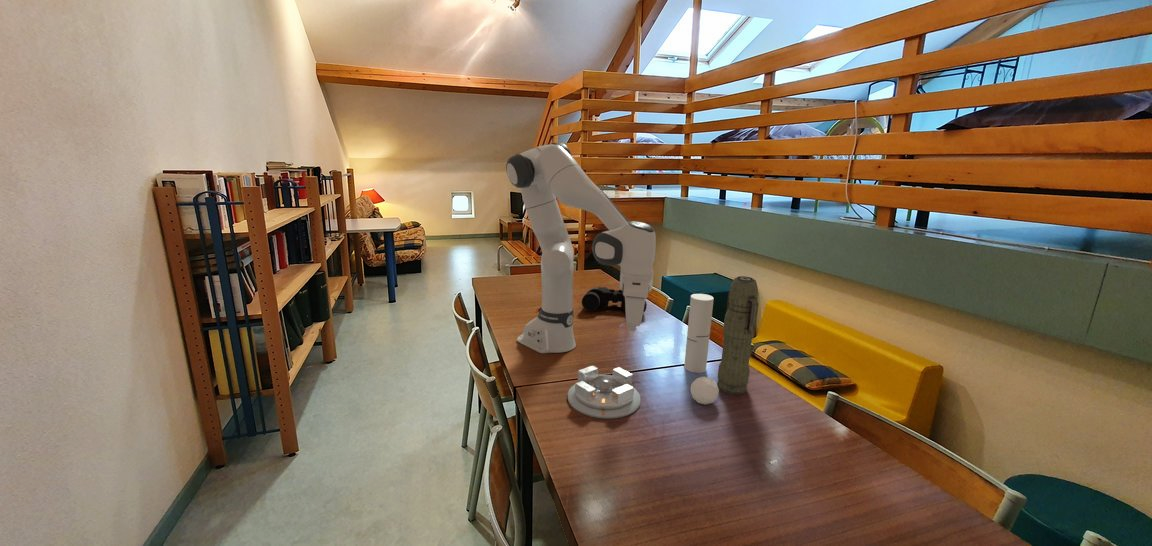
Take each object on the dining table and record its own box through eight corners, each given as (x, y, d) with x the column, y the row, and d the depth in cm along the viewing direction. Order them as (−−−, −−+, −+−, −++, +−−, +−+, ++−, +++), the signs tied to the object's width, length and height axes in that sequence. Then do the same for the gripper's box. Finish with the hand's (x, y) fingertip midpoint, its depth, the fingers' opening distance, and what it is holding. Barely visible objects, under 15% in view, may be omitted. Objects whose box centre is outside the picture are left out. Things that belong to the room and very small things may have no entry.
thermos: (729, 376, 148) (741, 272, 140) (756, 393, 138) (772, 282, 129) (707, 381, 145) (719, 274, 136) (734, 399, 134) (748, 285, 126)
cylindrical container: (706, 373, 150) (714, 301, 144) (684, 371, 151) (691, 299, 145) (705, 364, 157) (712, 294, 150) (683, 362, 158) (690, 292, 152)
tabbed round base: (577, 378, 141) (578, 363, 140) (632, 382, 140) (633, 367, 139) (571, 407, 125) (572, 391, 124) (634, 412, 124) (635, 395, 122)
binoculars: (581, 312, 204) (581, 290, 202) (587, 302, 224) (588, 282, 222) (645, 318, 199) (647, 295, 197) (646, 306, 219) (647, 286, 217)
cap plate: (553, 401, 130) (553, 398, 130) (593, 374, 147) (593, 371, 147) (617, 427, 119) (617, 423, 118) (652, 395, 135) (652, 391, 135)
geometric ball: (708, 413, 131) (718, 402, 125) (682, 399, 133) (691, 388, 127) (716, 392, 136) (726, 380, 130) (691, 379, 138) (700, 367, 131)
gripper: (625, 271, 135) (622, 316, 138) (623, 291, 115) (619, 342, 119) (647, 273, 134) (643, 317, 138) (648, 293, 114) (643, 344, 118)
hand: (632, 329), depth 128 cm, fingers closed
